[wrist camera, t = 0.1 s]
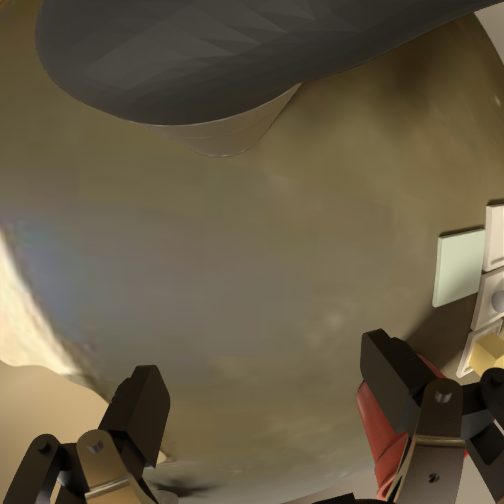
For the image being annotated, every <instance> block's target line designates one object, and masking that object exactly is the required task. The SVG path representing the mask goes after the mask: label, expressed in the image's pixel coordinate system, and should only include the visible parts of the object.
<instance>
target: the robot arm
mask: <svg viewBox="0 0 504 504" xmlns="http://www.w3.org/2000/svg"><path fill="white" fill-rule="evenodd" d="M501 2H504V0H42V1H41V4H40V7H39V10H38V14H37V19H36V25H35V43H36V49H37V53H38V57H39V60H40V62H41V64H42V66H43V68H44V70H45V71H46V73H47V74H48V75H49V77H50V78H51V79H52V80H53V82H55V83H56V84H57V85H58V86H59V87H60V88H61V89H62V90H64V91H65V92H66V93H68V94H69V95H71V96H72V97H74V98H75V99H77V100H79V101H81V102H83V103H85V104H87V105H89V106H92V107H94V108H96V109H99V110H102V111H104V112H107V113H109V114H112V115H114V116H117V117H119V118H122V119H124V120H127V121H129V122H132V123H134V124H136V125H139V126H141V127H143V128H146V129H148V130H150V131H153V132H155V133H157V134H159V135H161V136H164V137H166V138H168V139H170V140H172V141H174V142H176V143H178V144H181V145H183V146H185V147H187V148H189V149H191V150H193V151H195V152H197V153H200V154H202V155H206V156H212V157H228V156H232V155H236V154H239V153H241V152H243V151H245V150H247V149H249V148H251V147H252V146H253V145H254V144H256V143H257V142H258V141H259V140H260V139H261V137H262V136H263V135H264V134H265V133H266V131H267V130H268V129H269V127H270V126H271V125H272V123H273V122H274V120H275V119H276V118H277V116H278V115H279V113H280V112H281V111H282V109H283V108H284V107H285V105H286V104H287V103H288V101H289V100H290V98H291V97H292V96H293V94H294V93H295V92H296V90H297V89H298V88H299V86H300V85H301V84H302V83H304V82H308V81H311V80H315V79H319V78H323V77H326V76H329V75H333V74H336V73H340V72H342V71H345V70H348V69H351V68H354V67H357V66H359V65H362V64H364V63H366V62H369V61H371V60H373V59H375V58H377V57H380V56H382V55H384V54H385V53H387V52H389V51H391V50H393V49H395V48H397V47H399V46H401V45H403V44H405V43H407V42H409V41H411V40H413V39H415V38H417V37H419V36H421V35H423V34H425V33H427V32H429V31H431V30H433V29H435V28H437V27H439V26H442V25H444V24H446V23H448V22H451V21H453V20H455V19H458V18H460V17H462V16H465V15H467V14H470V13H473V12H475V11H478V10H480V9H483V8H486V7H489V6H491V5H495V4H498V3H501ZM360 369H361V373H362V376H363V379H364V380H365V382H366V384H367V385H368V387H369V389H370V391H371V392H372V394H373V396H374V397H375V399H376V401H377V403H378V404H379V406H380V408H381V410H382V411H383V413H384V415H385V417H386V418H387V420H388V422H389V424H390V425H391V427H392V429H393V431H394V433H395V434H399V433H401V432H404V431H406V432H407V434H408V435H409V436H408V438H407V441H406V445H405V448H404V451H403V454H402V457H401V460H400V463H399V466H398V469H397V472H396V475H395V478H394V480H393V482H392V485H391V487H390V489H389V491H388V493H387V495H386V497H385V500H384V501H383V500H377V499H355V498H354V495H353V493H349V494H345V495H342V496H338V497H335V498H331V499H327V500H322V501H318V502H315V503H312V504H455V501H456V497H457V493H458V489H459V484H460V479H461V473H462V468H463V461H464V454H465V449H466V450H467V452H468V454H469V455H470V457H471V459H472V460H473V462H474V464H475V466H476V467H477V469H478V471H479V472H480V474H481V476H482V478H483V480H484V482H485V483H486V485H487V487H488V489H489V491H490V493H491V495H492V497H493V498H494V500H495V502H496V504H504V436H503V434H502V433H501V432H500V430H499V429H498V427H497V426H496V425H495V423H494V421H495V419H496V421H497V422H498V423H499V425H500V426H501V427H502V428H503V430H504V369H503V368H499V367H493V368H489V369H487V370H486V371H485V372H484V373H483V374H482V376H481V379H480V382H476V383H472V384H468V385H463V386H460V384H459V383H457V382H456V381H454V380H452V379H448V378H438V377H437V376H436V375H435V373H434V372H433V371H432V370H431V369H430V368H429V367H428V366H427V365H426V363H425V362H424V361H423V360H422V359H421V358H420V357H418V355H417V354H416V353H415V352H414V351H413V349H412V348H411V347H410V346H409V345H408V344H407V343H406V342H405V341H402V340H400V339H398V338H396V337H393V338H390V337H389V336H388V335H387V333H386V332H385V331H384V330H383V329H381V328H380V329H377V330H373V331H370V332H366V333H363V335H362V342H361V359H360ZM169 409H170V396H169V393H168V390H167V388H166V386H165V384H164V381H163V379H162V377H161V374H160V372H159V369H158V368H157V366H156V365H142V366H136V368H135V370H134V372H133V374H132V376H131V378H126V379H125V380H124V381H123V382H122V383H121V384H120V385H119V386H118V388H117V390H116V392H115V394H114V396H113V398H112V400H111V404H109V406H108V408H107V410H106V412H105V415H104V417H103V419H102V421H101V423H100V425H99V427H98V429H95V430H91V431H88V432H86V433H84V434H83V435H82V436H81V437H80V438H79V439H78V441H77V443H65V444H61V443H60V442H59V441H58V440H57V439H56V437H55V436H53V435H51V434H42V435H40V436H38V437H36V438H35V439H34V440H33V441H32V443H31V444H30V446H29V448H28V450H27V452H26V454H25V456H24V458H23V460H22V462H21V464H20V466H19V468H18V470H17V472H16V474H15V476H14V478H13V481H12V483H11V485H10V487H9V490H8V492H7V494H6V497H5V499H4V501H3V504H50V497H51V494H52V491H53V489H54V486H55V483H56V481H57V482H58V483H60V484H61V488H60V490H59V493H58V496H57V499H56V502H55V504H161V502H160V501H159V499H158V498H157V496H156V495H155V493H154V492H153V490H152V489H151V487H150V486H149V484H148V483H147V481H146V479H145V478H144V477H143V475H142V474H143V470H144V469H154V470H155V467H156V463H157V458H158V454H159V450H160V446H161V441H162V437H163V433H164V429H165V425H166V421H167V417H168V413H169Z"/></svg>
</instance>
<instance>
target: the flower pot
mask: <svg viewBox="0 0 504 504" xmlns="http://www.w3.org/2000/svg"><path fill="white" fill-rule="evenodd" d="M416 354H417V355H418V357H420V358H421V359H422V360H423V361H424V362H425V363H426V365H427V366H428V367H429V368H430V369H431V370H432V371H433V372H434V373H435V375H436V376H437V377H438V378H447V377H446V376H444V375H443V374H442V373H441V372H440V371H439V370H438V369H437V368H436V367H435V366H434V365H432V364H431V363H430V362H429V361H428V360H427V359H426V358H425V357H424V356H422V355H421V354H418V353H416ZM356 401H357V407H358V410H359V413H360V416H361V419H362V422H363V425H364V428H365V431H366V434H367V438H368V441H369V444H370V448H371V451H372V454H373V458H374V461H375V474H376V478H377V482H378V486H379V490H378V491H377V498H378V499H380V500H385V497H386V495H387V493H388V491H389V489H390V487H391V485H392V482H393V480H394V478H395V475H396V472H397V469H398V466H399V463H400V460H401V457H402V454H403V451H404V448H405V445H406V441H407V438H408V436H409V435H408V434H407V432H406V431H404V432H401V433H399V434H395V433H394V431H393V429H392V427H391V425H390V424H389V422H388V420H387V418H386V417H385V415H384V413H383V411H382V410H381V408H380V406H379V404H378V403H377V401H376V399H375V397H374V396H373V394H372V392H371V391H370V389H369V387H368V385H367V384H366V382H365V381H364V382H363V384H362V385H361V387H360V389H359V391H358V393H357V397H356ZM494 422H495V421H494ZM468 455H469V454H468V452H467V450H466V449H465V454H464V459H465V458H466V457H467V456H468Z"/></svg>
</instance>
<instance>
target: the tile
mask: <svg viewBox="0 0 504 504" xmlns="http://www.w3.org/2000/svg"><path fill="white" fill-rule="evenodd" d="M485 231H486V230H485V229H477V230H472V231H467V232H462V233H457V234H452V235H447V236H442V237H438V251H437V266H436V277H435V286H434V295H433V302H432V305H433V306H434V307H435V308H436V307H439V306H442V305H444V304H447V303H450V302H453V301H455V300H458V299H461V298H463V297H466V296H468V295H471V294H474V293H476V292H478V290H479V284H480V278H481V271H482V263H483V255H484V245H485Z"/></svg>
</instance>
